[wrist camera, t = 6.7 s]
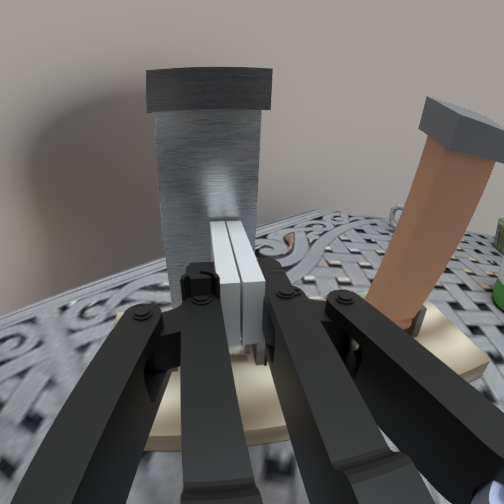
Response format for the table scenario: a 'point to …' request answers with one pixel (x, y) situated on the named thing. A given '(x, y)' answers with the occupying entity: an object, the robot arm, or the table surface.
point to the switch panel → (265, 396)
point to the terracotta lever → (436, 207)
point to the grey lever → (206, 158)
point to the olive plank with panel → (499, 236)
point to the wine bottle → (499, 288)
